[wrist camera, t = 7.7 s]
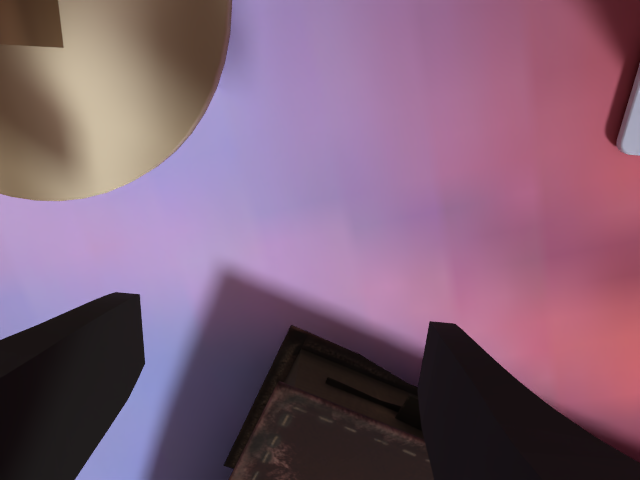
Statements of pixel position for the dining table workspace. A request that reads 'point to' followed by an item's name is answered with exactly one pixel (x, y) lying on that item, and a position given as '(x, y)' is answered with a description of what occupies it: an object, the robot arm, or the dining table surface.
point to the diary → (330, 419)
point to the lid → (102, 89)
